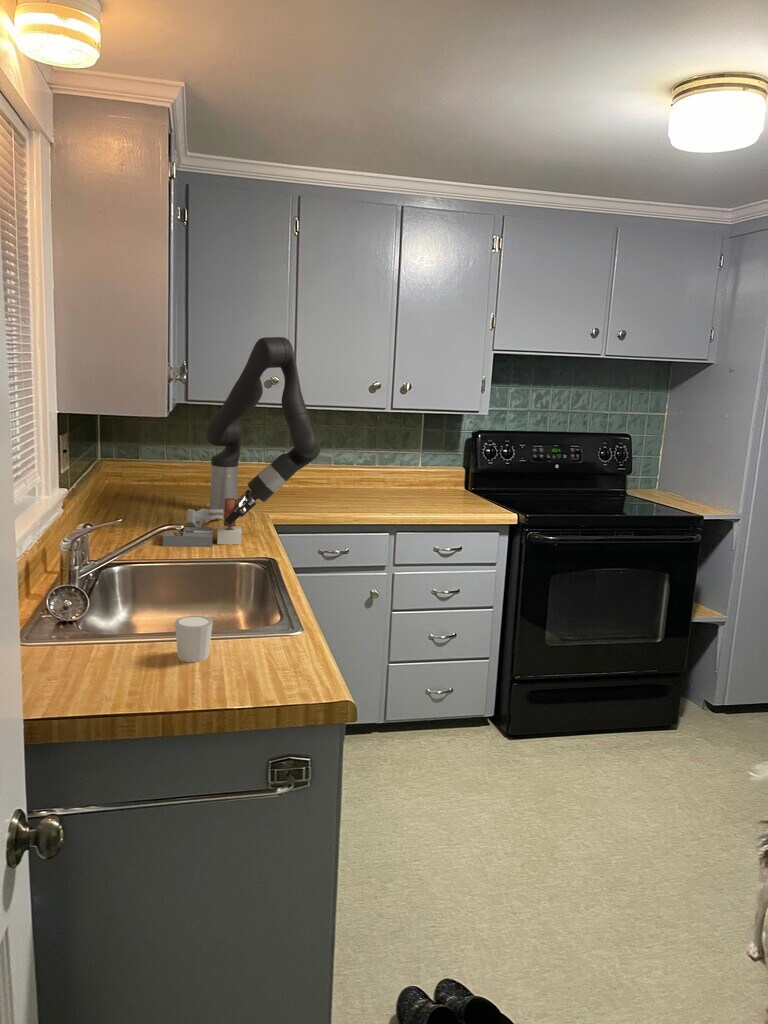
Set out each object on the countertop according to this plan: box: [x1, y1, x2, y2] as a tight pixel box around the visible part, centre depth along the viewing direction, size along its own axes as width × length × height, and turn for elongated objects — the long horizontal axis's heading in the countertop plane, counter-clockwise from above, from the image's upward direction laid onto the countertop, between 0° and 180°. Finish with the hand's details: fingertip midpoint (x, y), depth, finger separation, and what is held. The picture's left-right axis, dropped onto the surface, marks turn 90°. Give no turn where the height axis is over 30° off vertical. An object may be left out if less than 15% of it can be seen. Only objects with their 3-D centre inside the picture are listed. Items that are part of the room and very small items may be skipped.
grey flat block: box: [162, 526, 214, 548], centre depth 230 cm, size 12×14×3 cm
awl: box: [223, 498, 237, 530], centre depth 231 cm, size 3×3×13 cm
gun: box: [186, 508, 224, 527], centre depth 249 cm, size 2×30×8 cm, turn 173°
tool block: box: [216, 525, 243, 546], centre depth 232 cm, size 7×7×4 cm
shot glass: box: [174, 615, 214, 663], centre depth 145 cm, size 7×7×7 cm
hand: (226, 519), depth 231 cm, fingers open, 8 cm apart
